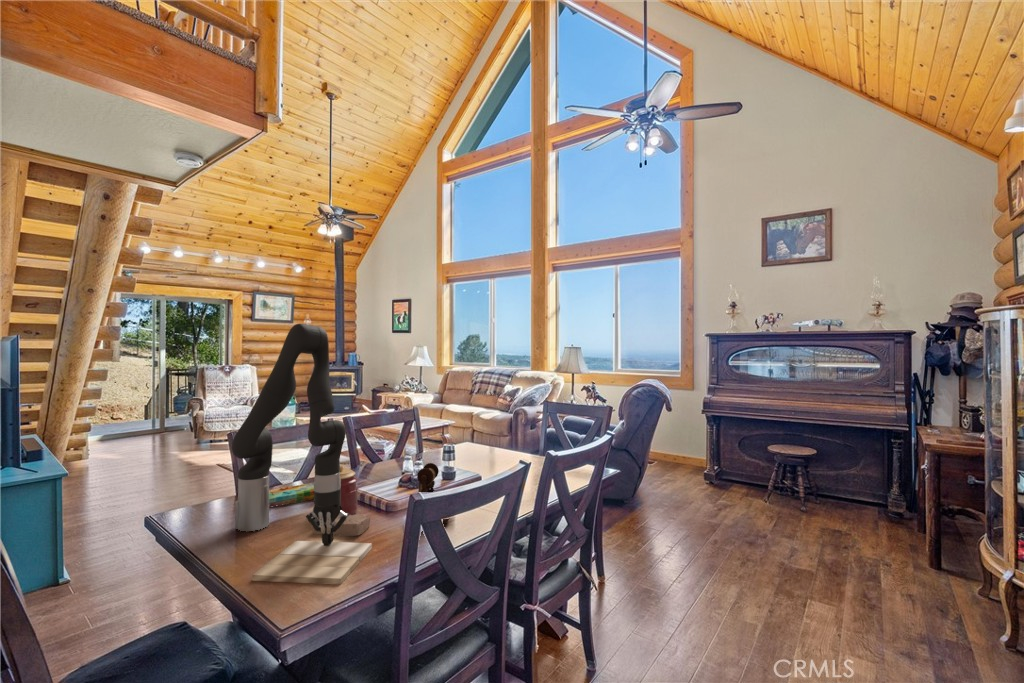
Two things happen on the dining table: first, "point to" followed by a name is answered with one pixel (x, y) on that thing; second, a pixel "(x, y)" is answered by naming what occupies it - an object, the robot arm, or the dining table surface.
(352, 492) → the canister
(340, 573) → the oak floor boards
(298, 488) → the puzzle game
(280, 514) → the dining table surface
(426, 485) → the dark brown upright piece
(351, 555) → the ash plank
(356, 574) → the dining table surface
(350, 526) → the brick
